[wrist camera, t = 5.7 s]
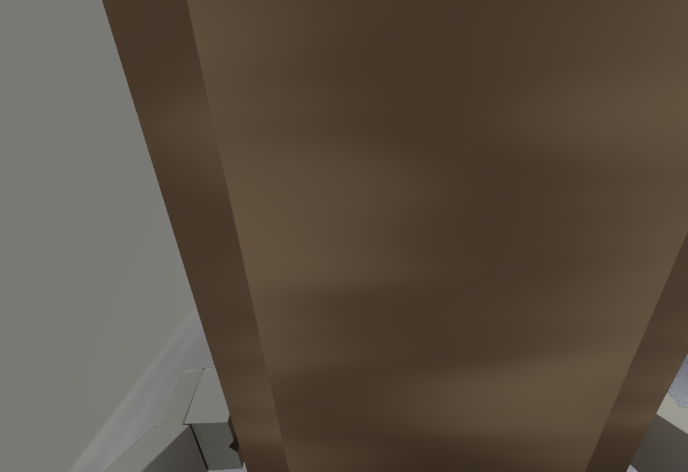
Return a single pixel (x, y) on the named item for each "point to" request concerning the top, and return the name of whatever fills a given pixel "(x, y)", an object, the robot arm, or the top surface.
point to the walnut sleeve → (426, 221)
